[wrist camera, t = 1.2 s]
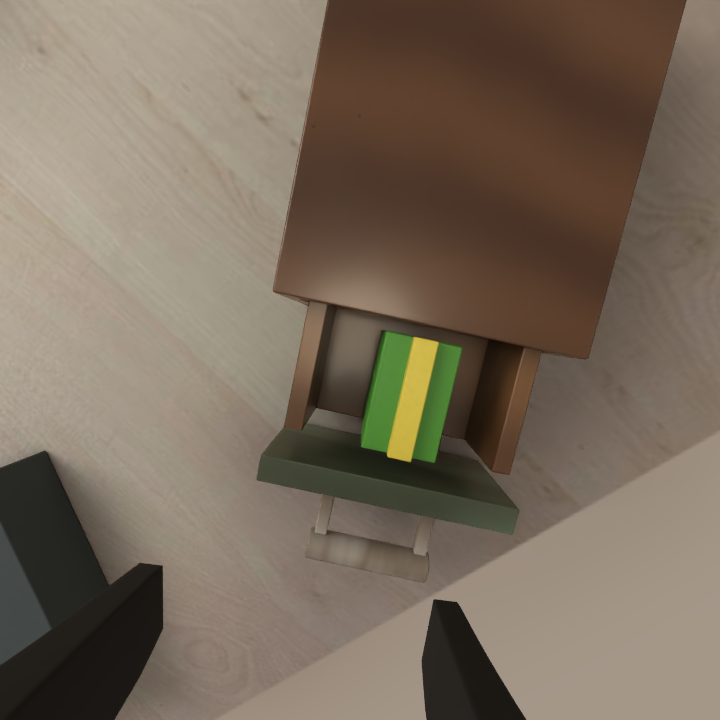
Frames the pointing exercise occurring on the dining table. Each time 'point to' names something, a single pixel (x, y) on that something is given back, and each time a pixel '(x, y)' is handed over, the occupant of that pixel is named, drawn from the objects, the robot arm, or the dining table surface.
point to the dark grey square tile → (40, 555)
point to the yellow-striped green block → (409, 396)
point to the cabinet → (475, 162)
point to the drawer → (373, 468)
